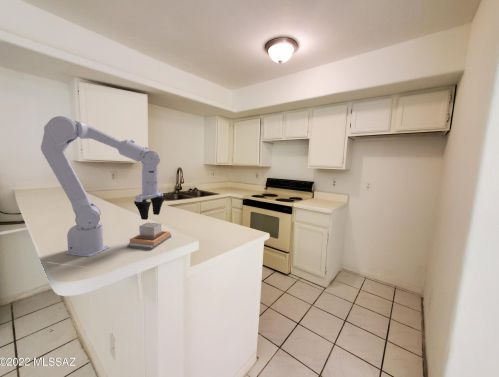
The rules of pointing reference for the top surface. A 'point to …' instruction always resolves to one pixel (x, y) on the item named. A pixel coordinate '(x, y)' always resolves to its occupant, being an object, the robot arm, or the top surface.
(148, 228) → the brushed metal cube
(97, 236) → the robot arm
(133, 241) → the frame
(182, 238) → the top surface
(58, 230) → the top surface
